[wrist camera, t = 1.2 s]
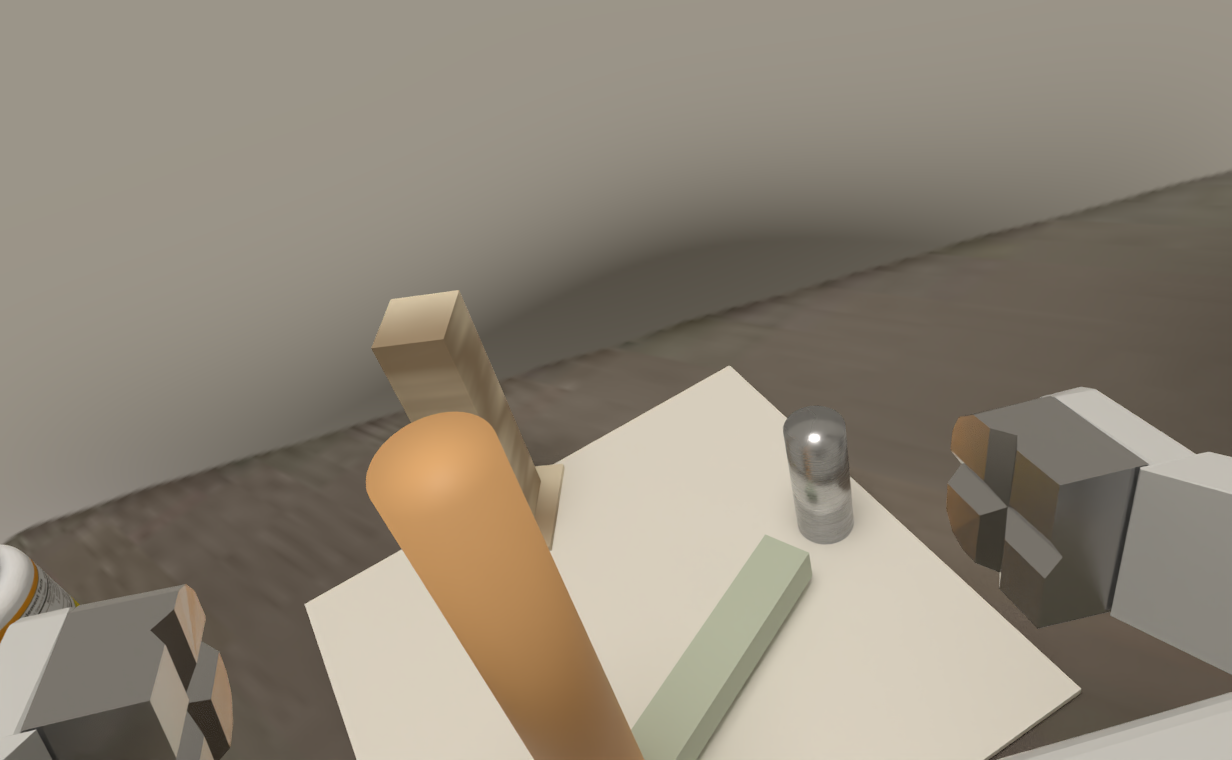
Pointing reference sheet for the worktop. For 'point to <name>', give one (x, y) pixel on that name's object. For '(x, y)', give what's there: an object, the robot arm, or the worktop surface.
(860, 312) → the worktop surface
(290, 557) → the worktop surface
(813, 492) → the post
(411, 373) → the post
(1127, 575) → the robot arm
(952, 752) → the base board
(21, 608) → the supplement bottle
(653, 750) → the orange upright dowel
